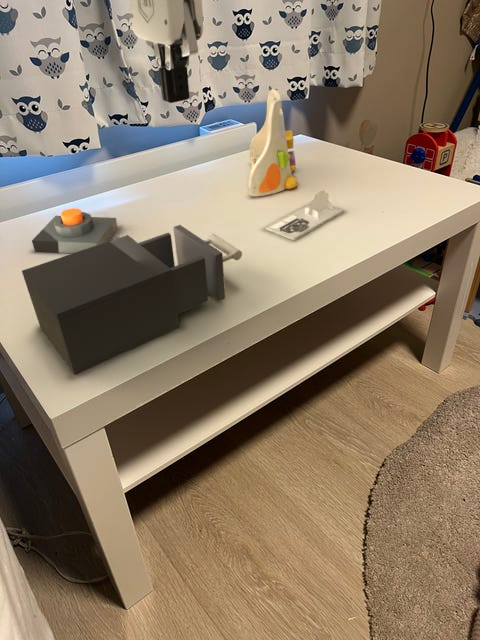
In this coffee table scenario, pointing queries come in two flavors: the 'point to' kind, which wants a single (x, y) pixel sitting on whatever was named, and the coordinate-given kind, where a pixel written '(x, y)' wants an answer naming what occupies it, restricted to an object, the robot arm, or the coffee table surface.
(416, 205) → the coffee table surface
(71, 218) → the button
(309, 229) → the white stand base
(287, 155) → the shape sorter
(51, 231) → the control block
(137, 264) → the drawer box
